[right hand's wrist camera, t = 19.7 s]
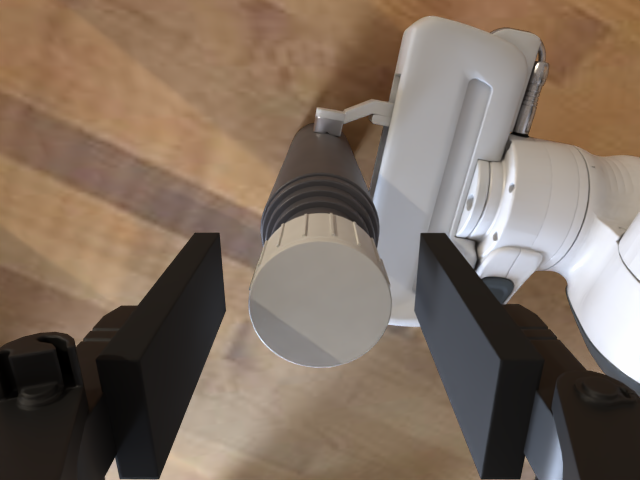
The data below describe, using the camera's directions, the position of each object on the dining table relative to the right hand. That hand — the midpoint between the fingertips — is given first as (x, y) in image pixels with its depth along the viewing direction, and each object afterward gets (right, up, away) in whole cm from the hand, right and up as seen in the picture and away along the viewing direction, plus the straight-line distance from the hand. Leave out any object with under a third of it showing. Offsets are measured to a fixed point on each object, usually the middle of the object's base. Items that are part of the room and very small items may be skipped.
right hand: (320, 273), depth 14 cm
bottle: (0, +8, +22) cm, 23 cm away
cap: (0, -1, -2) cm, 2 cm away
